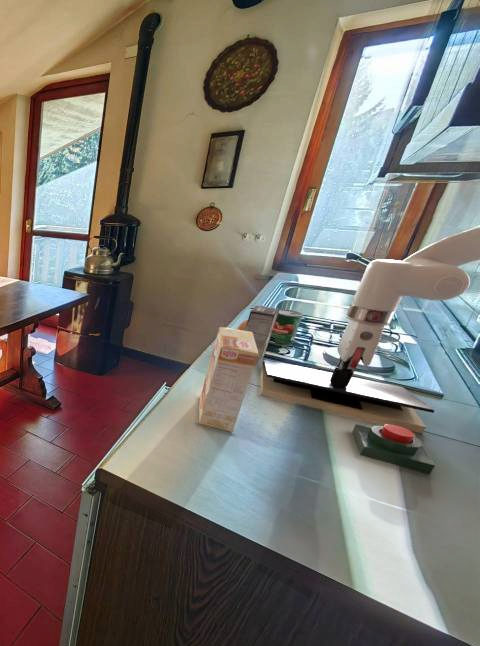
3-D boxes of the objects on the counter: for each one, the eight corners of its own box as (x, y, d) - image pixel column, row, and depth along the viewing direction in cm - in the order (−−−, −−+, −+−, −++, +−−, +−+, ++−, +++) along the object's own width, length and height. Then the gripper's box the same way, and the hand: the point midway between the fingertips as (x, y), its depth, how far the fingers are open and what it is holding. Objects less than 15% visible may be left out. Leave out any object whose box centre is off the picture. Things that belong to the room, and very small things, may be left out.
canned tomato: (267, 344, 136) (277, 314, 131) (262, 336, 142) (272, 307, 138) (294, 347, 133) (306, 317, 128) (289, 340, 139) (299, 310, 135)
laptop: (422, 433, 87) (426, 426, 86) (260, 394, 103) (262, 388, 102) (397, 395, 103) (401, 389, 102) (260, 366, 119) (262, 361, 118)
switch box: (414, 448, 82) (423, 432, 81) (429, 474, 75) (440, 458, 73) (351, 432, 87) (358, 417, 86) (359, 455, 80) (368, 439, 78)
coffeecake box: (199, 396, 102) (218, 326, 94) (231, 403, 99) (254, 331, 91) (197, 424, 90) (219, 346, 82) (233, 433, 87) (260, 353, 79)
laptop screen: (433, 413, 85) (434, 410, 85) (266, 376, 101) (267, 374, 101) (401, 389, 102) (402, 386, 102) (262, 361, 118) (263, 359, 118)
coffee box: (241, 350, 130) (255, 304, 124) (264, 356, 126) (280, 308, 120) (235, 359, 124) (250, 310, 117) (259, 364, 120) (276, 315, 113)
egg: (256, 344, 135) (264, 319, 132) (253, 349, 131) (261, 324, 127) (233, 339, 139) (241, 315, 136) (230, 344, 135) (238, 319, 131)
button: (407, 436, 80) (411, 428, 79) (413, 446, 77) (417, 439, 76) (378, 428, 82) (381, 421, 82) (383, 439, 79) (386, 431, 78)
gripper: (400, 326, 83) (364, 401, 90) (384, 309, 94) (352, 377, 101) (353, 319, 86) (322, 391, 94) (343, 304, 98) (315, 369, 105)
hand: (338, 383), depth 97 cm, fingers closed
